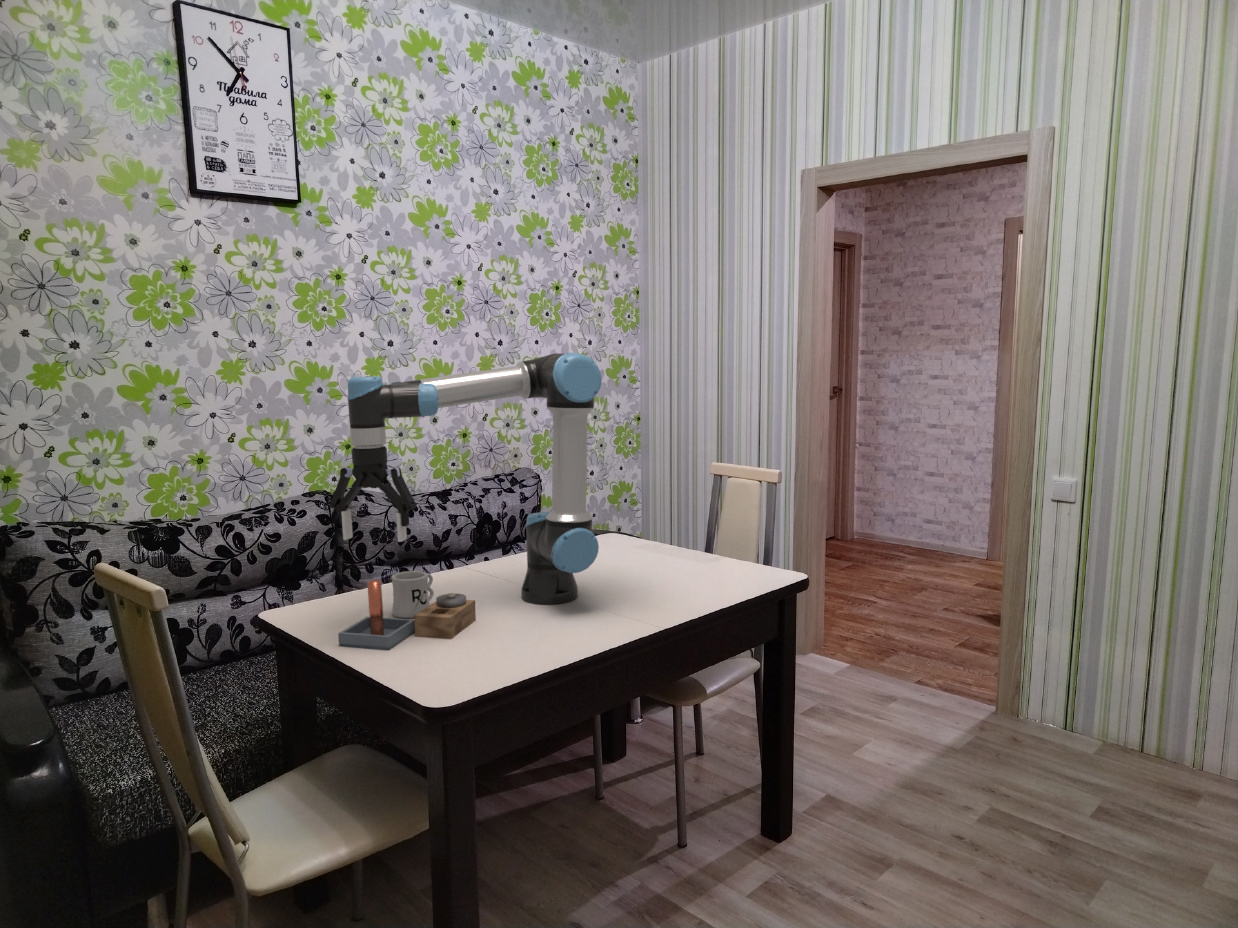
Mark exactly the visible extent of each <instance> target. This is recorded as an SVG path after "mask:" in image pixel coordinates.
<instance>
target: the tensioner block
mask: <svg viewBox="0 0 1238 928" xmlns="http://www.w3.org/2000/svg"><path fill="white" fill-rule="evenodd" d="M435 600H436V601H435V602H433V603H431V604H429V606H428V607H427V608H425V609H423V610H422V611H420V612H419V613H417V614H416V615H414V617H415V618H414V620H415V633H414V637H419V638H435V639H444V640H445V639H448V640H452V639H453V638H455V637H456V636H457V635H458V634H460V633H461V632H462V631H463V630H465V629H466V628H467V627H469V626H470V625H472V624H473V623H474V622H475V621H476V620H477V619H476V618H477V617H476V616H477V615H476V600H474V599H467V596H466V595H465V594H463V593H454V592H453V593H452V592H450V593H446V594H441V595H438V596H437V597H436V599H435Z"/></svg>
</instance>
